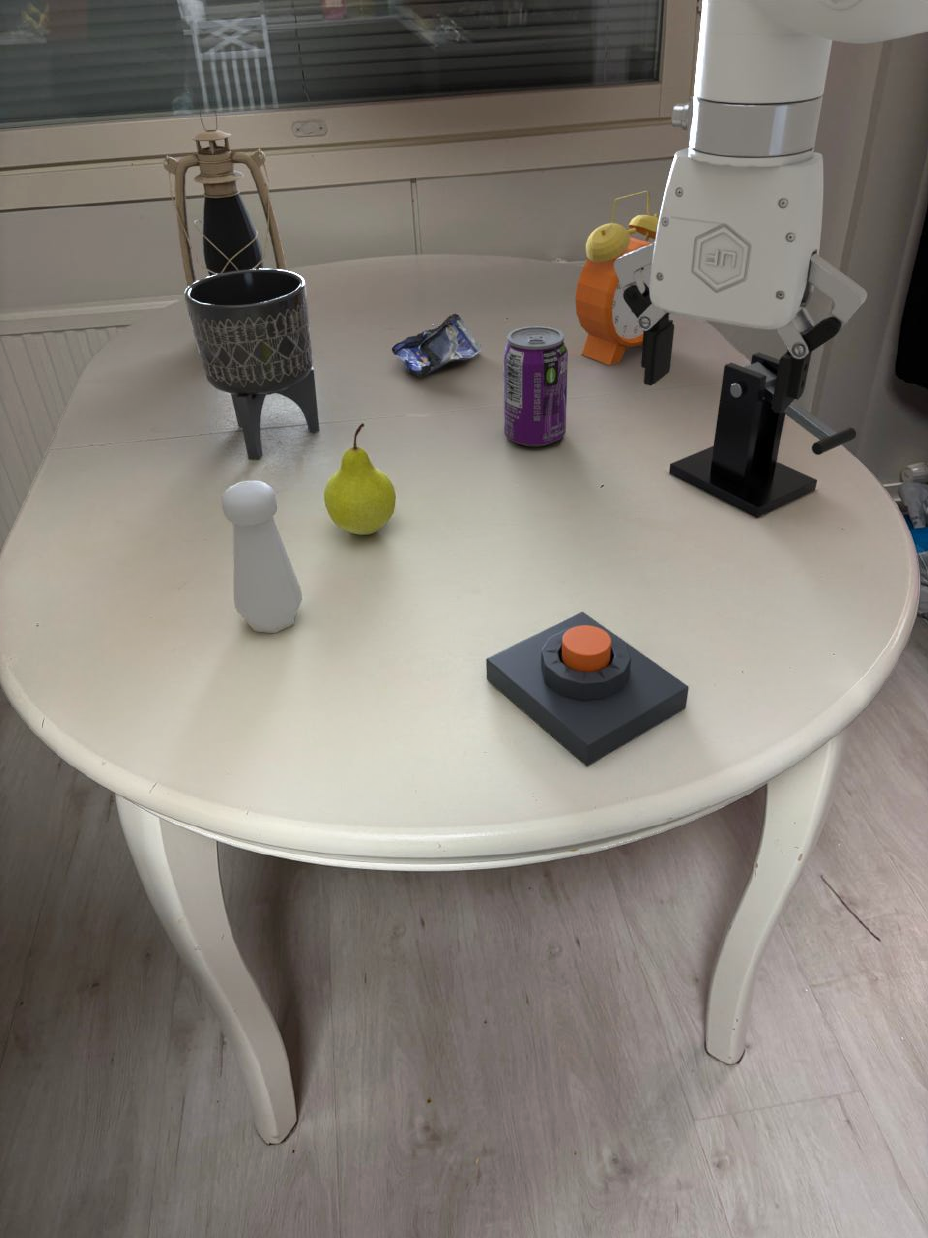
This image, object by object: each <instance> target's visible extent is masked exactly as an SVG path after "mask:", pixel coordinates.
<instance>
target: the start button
mask: <svg viewBox="0 0 928 1238" xmlns="http://www.w3.org/2000/svg"><path fill="white" fill-rule="evenodd" d="M610 652H611V638H610V636H609V635H608V633H607V632H605V631H604V630H603V629H601V628H598V627H595V626H589V625H582V626H576V627H573V628H571V629H569V630H568V631H567V632H566V633H565V634H564V636H563V639H562V660H563V662H564V664H565V665H566V666H567V667H568V668H570V669H572V670H576V671H580V672H584V673H586V672H596V671H600V670H602V669H604V668H605V667H606V666H607V665H608V663H609V661H610Z"/></svg>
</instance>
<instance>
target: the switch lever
mask: <svg viewBox="0 0 928 1238" xmlns="http://www.w3.org/2000/svg"><path fill="white" fill-rule="evenodd" d="M744 367H745V368H747V369H750V370H753V371H755V372H758V373H760V374H763V375H766V376H767V377H766V383H765V389H764V395H763V400H764V399H766V400H768V401H769V402H770V403H772V401H773V396H774V390H775V384H776V378H777V376H776V375H775V374H774V373H772V372H771V371H770V370H768V369H767V368H766V367H764V366H763V365H762V364H760V363H759V362H757V363H754V364H751V363H750V364H749V365H746V366H744ZM783 413H785V416H787V417H789V418H790V419H791V420H792V421H794V422H795V423H797V424H798V425H799V426H800V427H802V428H803V429H804V430H806V431H807V432H808V433H810V434H811V435H812V436H813V437H815V438H816V440H817V439H818V440H817V441H816V442H813V443H812V444H811V452H812V453H813V454H814V455H816V456H821V455H823V454H824V453H826V452H829V451H831V450H833V449H835V448H837V447H839V446H842V445H845V444H846V443H848V442H851V441H853V440H855V439H856V437H857V431H856V429H855V428H853V427H849V426H848V427H847V428H844V429H842V430H840V431H838V432H837V431H836V430H834V429H833V428H831V427H830V426H828V425H827V424H826V423H825V422H823V421H822V420H821V419H820V418H818V417H817V416H816V415H814V414H812V413H811V412H810V411H809V410H808V409H806V408H804V407H803V406H802V405H800V404H799V403H798V402H797V401H795V400H794V401H793V402H792V403H791V404H790V405H789V406H788V407H787V408H786V409H785V410H784V411H783Z"/></svg>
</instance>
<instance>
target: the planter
mask: <svg viewBox="0 0 928 1238" xmlns="http://www.w3.org/2000/svg"><path fill="white" fill-rule="evenodd" d="M306 285H307V284H306V281H305V279H304V278H303V277H302V276H301V275H299V274H297V273H295V272H293V271H288V270H287V271H284V270H277V268H276V269H274V268H263V269H247V270H237V271H231V272H225V273H221V274H216V275H213V276H210V275H209V276H207V277H204V278H201V279H199V280H196V282H195V283H193V284H192V285H190V286H189V287H188V286H187V288H186V289H185V291H184V293H183V298H184V301H185V306H186V310H187V313H188V317H189V321H190V325H191V328H192V332H193V335H194V339H195V343H196V347H197V351H198V354H199V358H200V361H201V366H202V369H203V373H204V375H205V378H206V380H207V382H208V383H209V384H210V386H212V387H213V388H215V389H217V390H219V391H221V392H224V393H228V394H230V396H231V401H232V406H233V410H234V415H235V419H236V423H237V427H238V428H240V429H241V431H242V437H243V440H244V444H245V449H246V453H247V459H248V460H257V461H258V460H260V459H261V458H262V457H263V447H262V436H261V421H262V420H261V419H262V412H263V411H262V410H263V406H264V403H265V400H266V397H267V396H270V395H274V394H278V395H281V396H283V397H285V398H287V399H289V400H291V401H292V402H293V403H294V404H295V405H296V406H297V407H298V408H299V409H300V410H301V412H302V414H303V416H304V419H305V422H306V426H307V428H308V432H309V433H310V434H313V433H318V432H320V422H319V421H320V419H319V411H318V410H319V409H318V400H317V390H316V380H315V379H316V378H315V370H314V367H313V365H314V358H313V349H312V348H313V347H312V337H311V327H310V316H309V306H308V305H309V304H308V295H307V294H308V293H307V286H306Z"/></svg>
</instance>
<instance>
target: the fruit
mask: <svg viewBox="0 0 928 1238" xmlns="http://www.w3.org/2000/svg"><path fill="white" fill-rule="evenodd" d="M363 427H365V424H364V423H363V422H362V423H361V424H359V425H358V427H357V429H356V430H355V433H354V437H353V446H351V447H349V448H348V449H346V450H345V451H344V453H343V455H342V458H341V464H340V468H339V469H338V470H337V471H336V472H335V473H333V474H332V475H331V476H330V477H329V479H328V480H327V482H326V484H325V488H324V492H323V496H324V497H323V500H324V506H325V509H326V511H327V514H328V516H329V518H330V519H331V521H332V522H333V523H334V524H335V526H337V527H338V528H340V529H342V530H343V531H346V532H348V533H349V534H350V533H351V534H354V535H360V536H362V535H363V536H365V535H372V534H374V533H377V532H378V531H379V530H380V529H381V528H383V527H384V526H385V525H386V524H387V523H388V522H389V521H390V519H392V516H393V515H394V514H395V513H394V512H395V509H396V501H397V500H396V499H397V496H396V490H395V486H394V484H393V482H392V480H391V479H390V478H389V476H388V475H387V474H386V473H385V472H384V471H383V470H380V469H378V468H376V467H374V465H373V463H372V461H371V459H370V456H369V454H368V452H367V451H366V449H364V448H362V447H360V446H357V437H358V435H359V433H360V432H361V430H362V429H363Z"/></svg>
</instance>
